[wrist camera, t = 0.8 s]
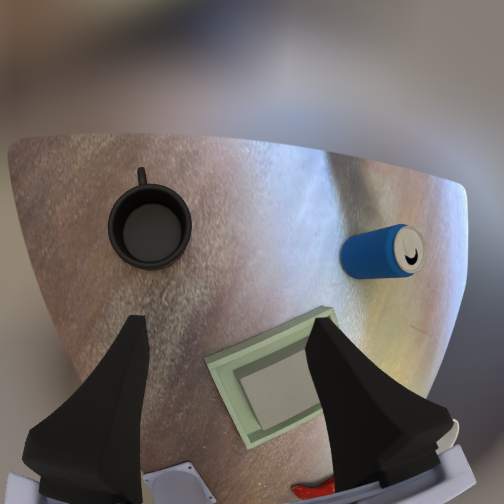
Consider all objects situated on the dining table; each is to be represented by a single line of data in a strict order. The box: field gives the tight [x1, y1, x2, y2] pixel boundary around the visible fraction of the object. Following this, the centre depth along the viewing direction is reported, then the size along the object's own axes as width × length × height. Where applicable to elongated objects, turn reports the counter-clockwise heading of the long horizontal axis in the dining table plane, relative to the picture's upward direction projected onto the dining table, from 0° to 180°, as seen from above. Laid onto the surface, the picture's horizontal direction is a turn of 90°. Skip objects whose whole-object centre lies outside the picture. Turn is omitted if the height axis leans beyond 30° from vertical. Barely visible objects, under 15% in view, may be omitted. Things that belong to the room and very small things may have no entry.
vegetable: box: [292, 477, 335, 500], centre depth 38 cm, size 4×5×12 cm
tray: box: [204, 306, 340, 449], centre depth 38 cm, size 14×18×3 cm
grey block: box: [233, 335, 320, 431], centre depth 37 cm, size 8×12×4 cm, turn 111°
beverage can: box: [342, 224, 426, 279], centre depth 39 cm, size 6×6×12 cm
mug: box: [108, 167, 192, 271], centre depth 34 cm, size 12×9×7 cm
